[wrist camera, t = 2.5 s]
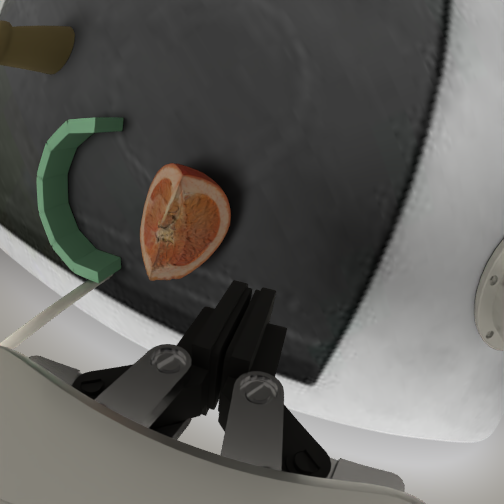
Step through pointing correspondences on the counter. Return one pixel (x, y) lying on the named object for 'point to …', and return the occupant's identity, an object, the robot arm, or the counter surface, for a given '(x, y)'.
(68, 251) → the green segmented arc
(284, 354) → the counter surface
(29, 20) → the counter surface
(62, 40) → the cork
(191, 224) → the fruit slice
